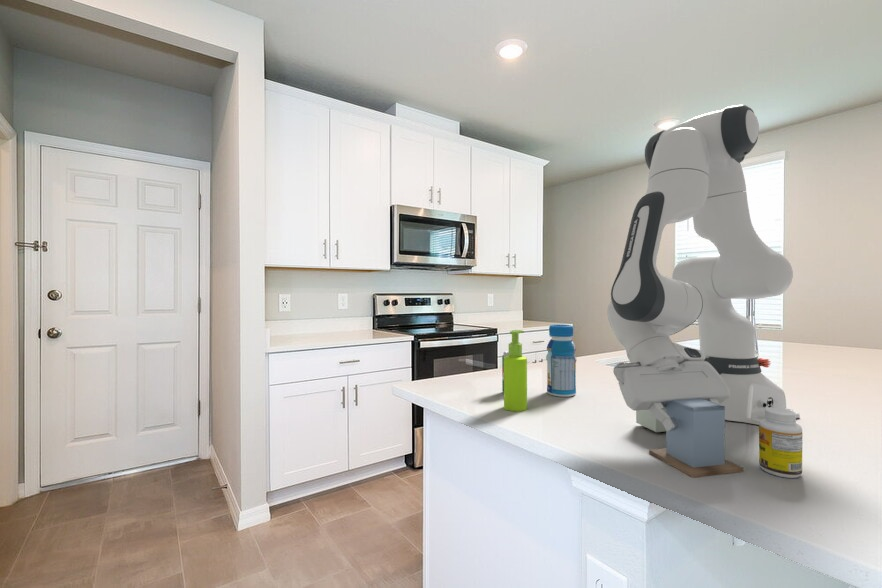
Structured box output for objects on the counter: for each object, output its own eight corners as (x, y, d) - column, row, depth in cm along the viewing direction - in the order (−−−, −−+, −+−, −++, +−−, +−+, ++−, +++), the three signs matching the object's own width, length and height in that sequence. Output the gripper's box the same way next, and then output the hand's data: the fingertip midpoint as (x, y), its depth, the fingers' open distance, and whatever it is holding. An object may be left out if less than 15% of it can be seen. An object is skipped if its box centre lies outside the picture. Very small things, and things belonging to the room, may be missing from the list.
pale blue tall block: (695, 450, 76) (695, 396, 76) (724, 464, 70) (724, 406, 70) (666, 453, 75) (666, 398, 75) (693, 467, 69) (693, 408, 68)
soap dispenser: (531, 405, 107) (531, 329, 107) (522, 412, 101) (521, 332, 101) (510, 402, 110) (510, 328, 110) (500, 409, 105) (499, 331, 104)
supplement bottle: (759, 461, 72) (759, 404, 72) (801, 470, 69) (802, 410, 68) (757, 473, 68) (758, 411, 68) (802, 483, 64) (803, 418, 64)
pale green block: (660, 423, 93) (660, 379, 93) (681, 432, 87) (681, 385, 87) (636, 425, 92) (636, 380, 92) (656, 435, 86) (655, 387, 85)
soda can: (519, 395, 118) (519, 354, 117) (501, 395, 119) (501, 353, 118) (519, 391, 122) (519, 351, 122) (502, 390, 123) (502, 351, 123)
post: (695, 448, 78) (695, 403, 78) (743, 471, 68) (743, 420, 68) (649, 453, 76) (649, 407, 76) (692, 477, 66) (692, 424, 66)
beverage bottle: (561, 399, 114) (561, 327, 113) (540, 392, 121) (540, 325, 121) (582, 395, 118) (582, 325, 118) (560, 388, 125) (560, 323, 125)
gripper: (616, 354, 77) (654, 422, 67) (709, 350, 81) (756, 414, 71) (603, 373, 81) (635, 440, 72) (691, 368, 85) (733, 431, 76)
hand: (696, 427), depth 72 cm, fingers open, 8 cm apart
